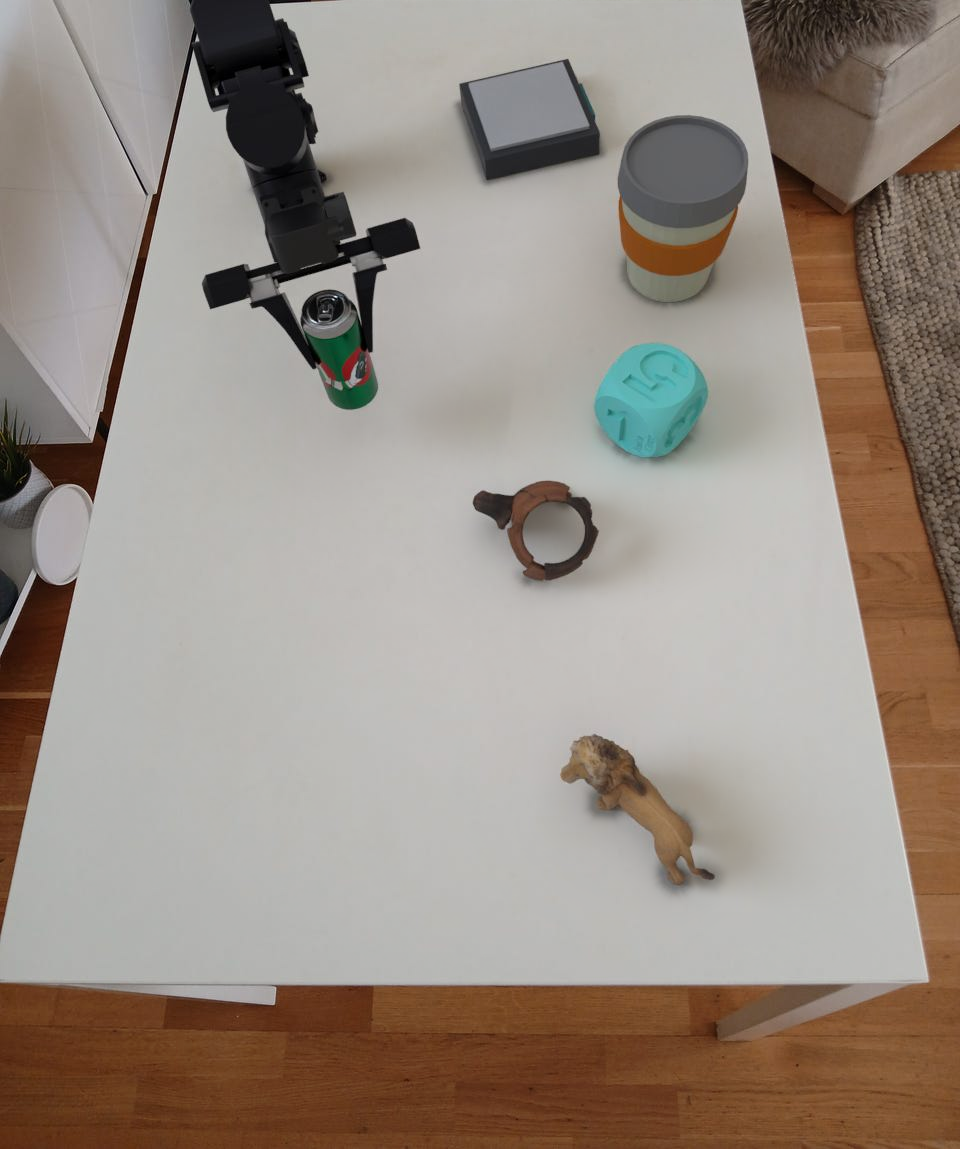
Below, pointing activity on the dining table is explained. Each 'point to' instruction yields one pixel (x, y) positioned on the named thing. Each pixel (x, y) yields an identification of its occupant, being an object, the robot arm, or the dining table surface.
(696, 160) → the reusable coffee cup
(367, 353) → the soda can
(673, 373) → the decorative dice
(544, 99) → the scale
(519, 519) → the jagged brown ring
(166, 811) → the dining table surface
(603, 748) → the lion figurine
